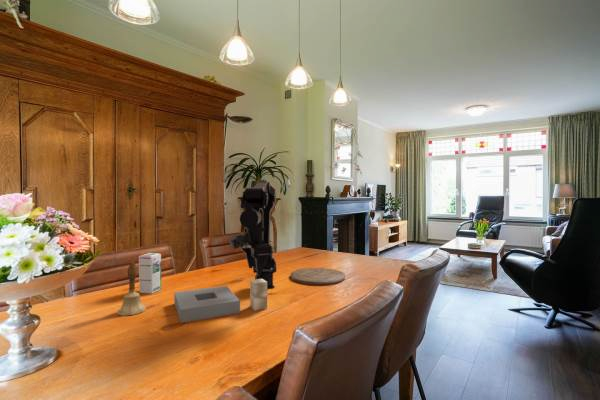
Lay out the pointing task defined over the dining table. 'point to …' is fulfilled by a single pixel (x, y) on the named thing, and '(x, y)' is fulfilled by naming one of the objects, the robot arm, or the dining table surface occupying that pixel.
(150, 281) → the syrup box
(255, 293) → the birch peg
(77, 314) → the dining table surface
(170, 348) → the dining table surface
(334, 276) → the trivet
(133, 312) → the hand bell
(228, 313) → the socket block
